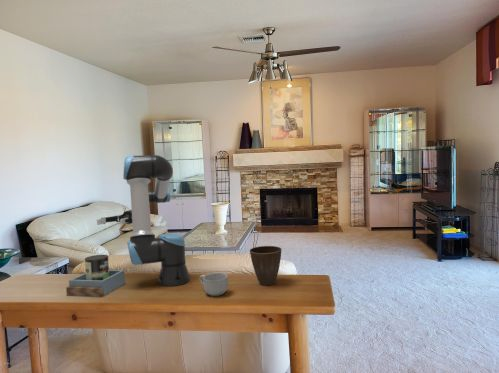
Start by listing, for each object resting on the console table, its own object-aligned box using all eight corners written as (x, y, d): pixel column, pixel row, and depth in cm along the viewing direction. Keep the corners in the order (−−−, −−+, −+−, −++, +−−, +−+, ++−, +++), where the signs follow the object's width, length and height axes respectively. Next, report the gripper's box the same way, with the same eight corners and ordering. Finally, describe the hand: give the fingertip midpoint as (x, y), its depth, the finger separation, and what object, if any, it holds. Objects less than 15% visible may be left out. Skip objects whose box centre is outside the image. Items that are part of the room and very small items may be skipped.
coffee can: (114, 283, 179) (112, 254, 179) (101, 290, 169) (99, 260, 168) (95, 282, 181) (93, 254, 181) (81, 289, 171) (79, 259, 171)
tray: (125, 283, 182) (124, 270, 181) (103, 295, 165) (102, 281, 165) (93, 282, 186) (93, 269, 185) (69, 294, 169) (68, 280, 168)
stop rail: (104, 296, 165) (103, 287, 165) (101, 297, 163) (101, 288, 163) (69, 294, 169) (68, 286, 169) (66, 296, 167) (66, 287, 167)
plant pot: (264, 290, 164) (262, 254, 163) (244, 282, 176) (243, 249, 175) (289, 283, 173) (288, 249, 172) (269, 276, 185) (267, 244, 184)
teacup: (233, 292, 163) (232, 274, 162) (214, 300, 155) (214, 281, 154) (212, 286, 172) (211, 269, 172) (194, 293, 164) (193, 275, 164)
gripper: (151, 222, 210) (131, 229, 189) (112, 223, 215) (88, 229, 195) (150, 209, 209) (130, 214, 189) (111, 210, 215) (87, 215, 194)
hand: (109, 222), depth 192 cm, fingers open, 13 cm apart
